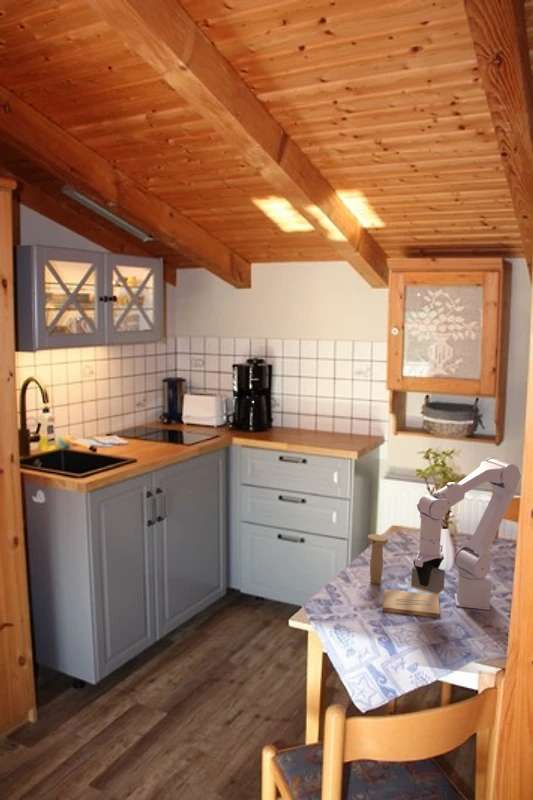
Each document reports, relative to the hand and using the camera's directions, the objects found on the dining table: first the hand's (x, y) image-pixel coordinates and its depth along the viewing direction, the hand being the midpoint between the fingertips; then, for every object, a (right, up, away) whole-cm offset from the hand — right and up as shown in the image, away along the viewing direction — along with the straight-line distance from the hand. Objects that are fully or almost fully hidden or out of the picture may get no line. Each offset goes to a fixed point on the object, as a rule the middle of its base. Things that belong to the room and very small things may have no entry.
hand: (427, 582), depth 191 cm
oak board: (-4, -8, +5) cm, 10 cm away
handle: (-12, -6, +20) cm, 24 cm away
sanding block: (0, -2, 0) cm, 2 cm away
